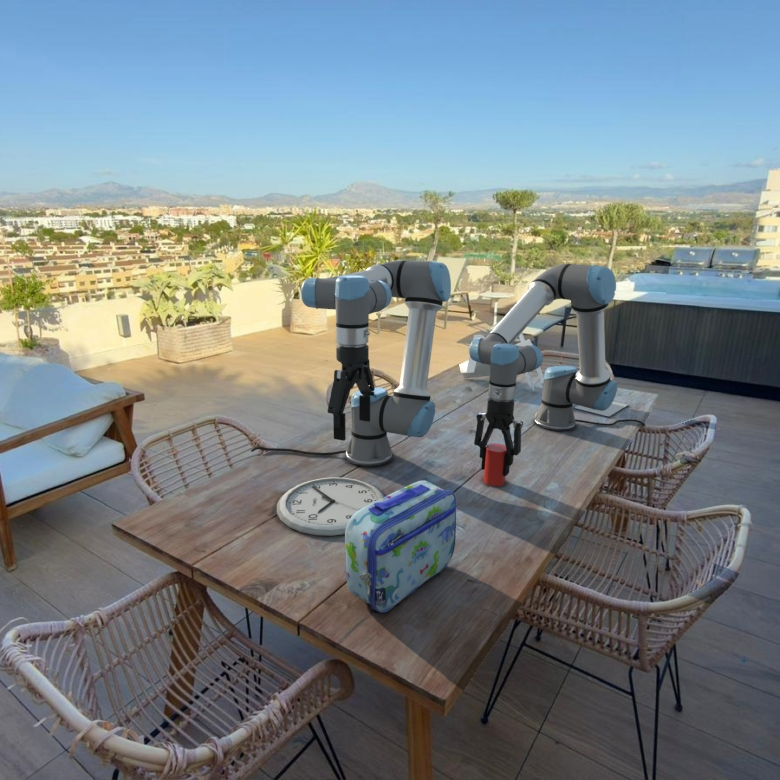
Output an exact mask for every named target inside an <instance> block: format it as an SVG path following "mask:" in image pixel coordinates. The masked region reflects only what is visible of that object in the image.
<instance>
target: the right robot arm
mask: <svg viewBox="0 0 780 780" xmlns="http://www.w3.org/2000/svg"><path fill="white" fill-rule="evenodd" d="M616 291H617V280H616V276H615V274H614V272H613V270H612V269H610V268H609V267H607V266H600V265H598V264H594V265H591V264H590V265H589V264H574V263H572V264H571V263H561V264H557V265H554V266H552V267H550V268H548V269H546V270H545V271H543V272H542V273H540V274H539V275H538V276H536V277H535V278H534V279H533V280H532V281H531V283H529V285H528V286H527V291H526V292H525V293H524V294H523V296H521V298H520V299H519V300H518V301H517V302H516V303H515V305H514V306H513V307H511V308H512V309H511V308H510V309H511V310H510V309H509V311H508V312H507V313H506V314H505V316H503V317H502V319H501V320H500V321H499V322H498V323H497V324H496V325H495V326H494V328H492V330H491V331H490V332H489V333H488V335H486V337H485V339H483V338H476V339H474V340H473V339H472V341H471V342H470V345H469V347H468V354H469V357H471V359H472V360H474V361H477V362H480V363H482V364H488V365H490V376H489V380H488V381H489V383H488V392H487V396H488V398H487V405H486V412H484V413H483V412H481V411H480V412H479V413H477V414H476V422H477V423H476V428H475V435H474V441H473V444H474V446H477V447H479V458H480V459H481V467H480V470H481V471H484V470H485V457H486V446H487V445H488V444H489V441H490V439H491V437H492V434H493V432H494V430H499V431H500V432H501V435H502V436H503V440H504V445H505V446H506V449H507V454H506V455H505V461H504V472H503V476H505V477H507V475H509V474H510V467H511V466H512V465H513V463H514V457H515V456H518V455H519V454H520V453H521V451H522V428H523V425H524V421H523V420H520V421H519V420H518V419H515V417H514V412H515V411H514V410H515V400H514V399H515V398H516V389H517V388H516V387H517V377H518V376H519V375H522V374H525V373H526V372H529V373H530V372H533V371H535V370H536V369H537V368H539V367H540V368H541V365H542V364H543V361H544V355H543V352H542V350H541V349H540V348H539V347H538V346H536V345H534V344H533V345H527V346H524V347H523V346H517V345H515V344H513V343H514V342H515V341H516V340H517V338H518V337H519V335H520V334H521V333H523V332H524V330H526V328H527V327H528V326H529V325H530V324H531V323H532V321H533V320H534V319H535V318H536V317H537V316H538V314H539V313H541V311H542V310H543V309H544V308H545V307H546V306H550V305H551V304H553V302H554V301H556V300H566V301H570V307H571V310H572V311H573V312H575V314H576V328H577V347H578V363H579V365H578V366H579V370H578V368H577V367H576V366H571V365H555V366H554V365H553V366H550V367H547V368H546V369H545V371H544V373H543V377H544V378H543V380H544V381H543V386H542V394H541V402H540V405H539V407H538V410H537V411H536V412H535V414H534V424H535V425H536V426H537V427H539V428H542V429H544V430H549V431H556V432H567V431H572V430H574V429H575V428H576V422H577V423H585V424H590V425H597V426H606V427H610V426H615V425H617V423H623V422H625V423H626V422H635V423H639V424H640V425H642V426H643V427H646V423H644V422H643V421H641V420H639V419H633V418H629V419H628V418H626V419H617V420H615V421H614V422H612V423H605V422H604V423H603V422H594V421H588V420H584V419H583V420H582V419H576V418H575V417H576V416H575V413H574V407H573V405H575V406H578V405H580V406H584V407H587V408H591V409H593V410H600V411H604V410H606V409H608V408H609V406H610V405H611V404H612V402H613V401H614V400H615V398H616V395H617V392H618V382H617V380H614V379H611V372H610V371H609V369H607V368H606V339H605V338H606V337H605V335H606V334H605V310H606V309H607V308H608V307H609V305H610V303H612V302H613V300H614V298H615V296H616ZM486 420H487V422H488V425H487V428H486V431H485V433H484V435H483V432H484V426H485V421H486ZM511 425H513V429H514V430H513V439H512V433H511Z"/></svg>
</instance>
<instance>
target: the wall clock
mask: <svg viewBox="0 0 780 780" xmlns="http://www.w3.org/2000/svg"><path fill="white" fill-rule="evenodd" d="M384 497H386V495H385V494H384V493H383V492H382V491H381V490H380V489H379V488H377V487H376V486H374V485H372V484H371V483H369V482H365V481H362V480H359V479H355V478H349V477H338V476H337V477H335V476H333V477H332V476H331V477H322V478H317V479H312V480H307V481H305V482H302V483H299V484H297V485H295V486H293V487H292V488H290V489H288V490H287V491H286V492H285V493H284V494H283V495H281V496H280V498H279V499H278V502H277V503H276V515H277V517H278V518H279V520H280V521H281V522H282V523H283V524H285V525H286V526H287V527H288V528H290V529H293V530H295V531H297V532H299V533H303V534H308V535H312V536H327V537H328V536H329V537H331V536H332V537H333V536H342V535H345V531H346V527H347V524H348V522H349V520H350V518H351V517H352V515H353V514H354V513H355V512H357V511H358V510H360V509H362V508H364V507H366V506H368V505H370V504H372V503H374V502H376V501H378V500H380V499H382V498H384Z"/></svg>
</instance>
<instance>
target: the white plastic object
mask: <svg viewBox="0 0 780 780" xmlns="http://www.w3.org/2000/svg"><path fill="white" fill-rule="evenodd" d="M512 308H513V307H511V308H510V309H509V311H510V310H511V309H512ZM518 337H519V340H520V342H518V343H516V344H514V345H517V346H523V347H524V346H527V345H534V343H532V341H531V339H530V338H528V339H525V336H524V333H523V332H522V333H521V334H520V335H519V336H518ZM476 338H483V339H485V338H486V337H485V336H484V335H483V334H473V339H472V341H473V340H474V339H476ZM458 366H459V370H460V374H461V375H462V377H463V378H464V379H473V378H474V379H475V378H482V377H483V378H484V377H490V365H488V364H482V363H480V362H477V361H474V360H472V359H471V357H470V356H469V357H468V360H466V361H464V362H462V363H460V364H458ZM535 370H536V373H537V376H538V379H539V382H540V384H541V386H542V387H543V381H544V380H543V378H544V373H543V371H542V369H541V366H540V367H539V368H537V369H535ZM524 376H525V380H526V382H527V385H528V387H529V388H530V389H531V391H532V392H533V393H535V386H534V383H533V380H532V376H531V374H530V372H526V373H524Z"/></svg>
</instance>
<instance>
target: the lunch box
mask: <svg viewBox="0 0 780 780" xmlns="http://www.w3.org/2000/svg"><path fill="white" fill-rule="evenodd" d="M456 531H457V499H456V495H455V493H454V492H453V490H450V489H442V488H440V487H439V486H437V485H435V484H433V483H432V482H430V481H428V480H418V481H416V482H413V483H410V484H409V485H406V486H405V487H402V488H400V489H398V490H396V491H394V492H392V493H390V494H388V495H385V497H384V498H382V499H380V500H378V501H376V502H374V503H372V504H370V505H368V506H366V507H364V508H362V509H360V510H358V511H357V512H355V513H354V514H353V515H352V517H351V518H350V520H349V522H348V524H347V527H346V531H345V534H344V552H345V577H346V578H345V580H346V586H347V589H348V592H349V593H350V594H352V595H354V596H356V597H357V598H359V599H361V600H363V602H365V603H367V604H368V605H370V607H371V608H372V609H373V610H375V611H376V612H378V613H380V614H382V613H383V614H385V613H387V612H389V611H391V609H393V608H394V607H395V606H396V605H397V604H400V602H401V601H402V600H404V599H406V597H409V596H410V595H411V594H412V593H414V592H415V591H416V590H417V589H418V588H420V587H421V586H422V585H423V584H424V583H425V582H427V581H428V580H430V579H432V578H433V577H434V576H436V575H437V574H439V573H441V572H442V571H443V570H445V568H446V567H447V566H448V564H449V563H450V561H451V560H452V557H453V554H454V551H455V548H456V547H455V546H456Z"/></svg>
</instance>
